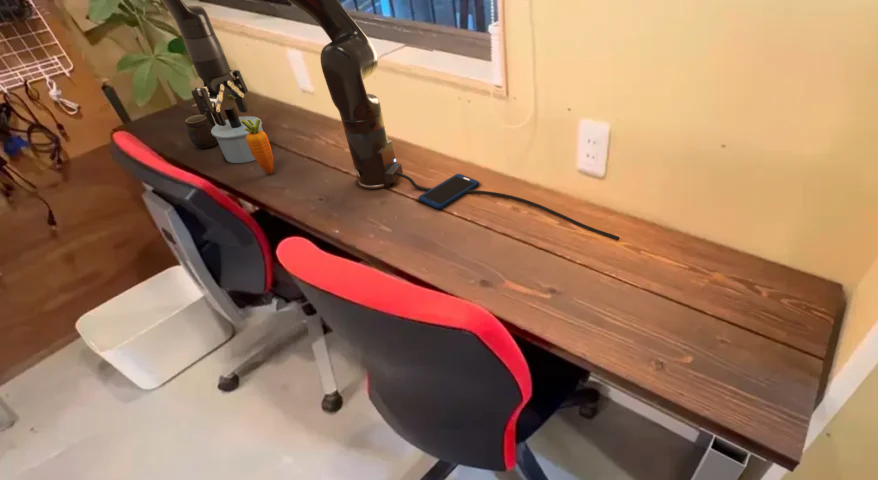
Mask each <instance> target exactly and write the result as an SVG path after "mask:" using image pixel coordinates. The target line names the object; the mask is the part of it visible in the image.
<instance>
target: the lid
mask: <svg viewBox="0 0 878 480" xmlns="http://www.w3.org/2000/svg"><path fill="white" fill-rule="evenodd" d="M223 112H224V113H225V115H226V119H225V121H226V125H225V126H219V125H218V124H217V125H215V126H214V127H213V128H212V130H211V133H212V135H213V136H215V137H217V138H235V137H240V136H244V135H247V134H248V133H250V132H248V131H246V130H244V129H245V128H247V127H246V126H245V125H244V124H243V123H242V120H243V119H244V120H246V121H247V120H249V119H250V120H251V121H252V122H253V123H254V125H255V127H256V120H257V119H260V118H259V117H257V116H253V115H245V116H244V115H243V116H239V115H238V112H237V110H236V107H235V106H234V105H227V106H225V107H223ZM247 122H248V121H247ZM248 123H249V122H248ZM249 124H250V123H249ZM250 125H251V124H250ZM262 125H263V121H262V120H261V119H260V123H259V128H260V126H262ZM251 126H252V125H251Z"/></svg>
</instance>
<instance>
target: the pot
mask: <svg viewBox="0 0 878 480" xmlns="http://www.w3.org/2000/svg"><path fill="white" fill-rule="evenodd" d="M258 130H259V131H263V132H265V131H264V129H263V126H262V125H261V126H260V128H259V129H258ZM246 136H247V135H244V136H240V137H235V138H217V137H216V139H217V143H218V145H219V148H220V150H221V152H222V154H223V156H224V158H225V160H226V161H227V162H229V163H231V164H246V163H250V162H254V161H256V159H255V158H254V156H253V155H252V152H251V150H250V148H249V146H248V144H247V141H246Z"/></svg>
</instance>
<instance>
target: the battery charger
mask: <svg viewBox="0 0 878 480" xmlns="http://www.w3.org/2000/svg"><path fill="white" fill-rule="evenodd" d="M191 95H192V98H193V100H194V102H195V105H196V106H197V108H198V109H197V110H198V111H199V113H200V115H204V114H205V112H203V110H202V108H201V105H200V103H199V100H198V98H197V95H196V93H195V90H194V89H193V90H191ZM213 99H216V97H214V96H213ZM205 104H206V103H205ZM206 106H207V105H206ZM214 107H215V103H214ZM206 117H207V119H208V122H209V123H210V124H211V125H212V126H213V127H214V126H215V125H217V123H216V122H215V120H214V117H213V115H212V113H209V112H207V113H206Z"/></svg>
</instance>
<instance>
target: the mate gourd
mask: <svg viewBox="0 0 878 480" xmlns="http://www.w3.org/2000/svg"><path fill="white" fill-rule="evenodd" d="M206 113H207V112H205V114H204V115H201V114H195V115H191V116H189V117H187V118H186V119H185V120H184V123H185V125H186V126H187V130H188V131H187V133H188V134H187V135H188V138H189V140H190V142H191V143H192V144H193V145H194V146H195V147H196V148H198V149H203V150H204V149H209V148H213V147H215V146H216V145H217V143H218V141H217V139H216V137H215V136H213V135H212V133H211V130H212V128H213V126H212V125H211V124H210V123H209V122H208V119H207V117H206Z"/></svg>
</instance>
